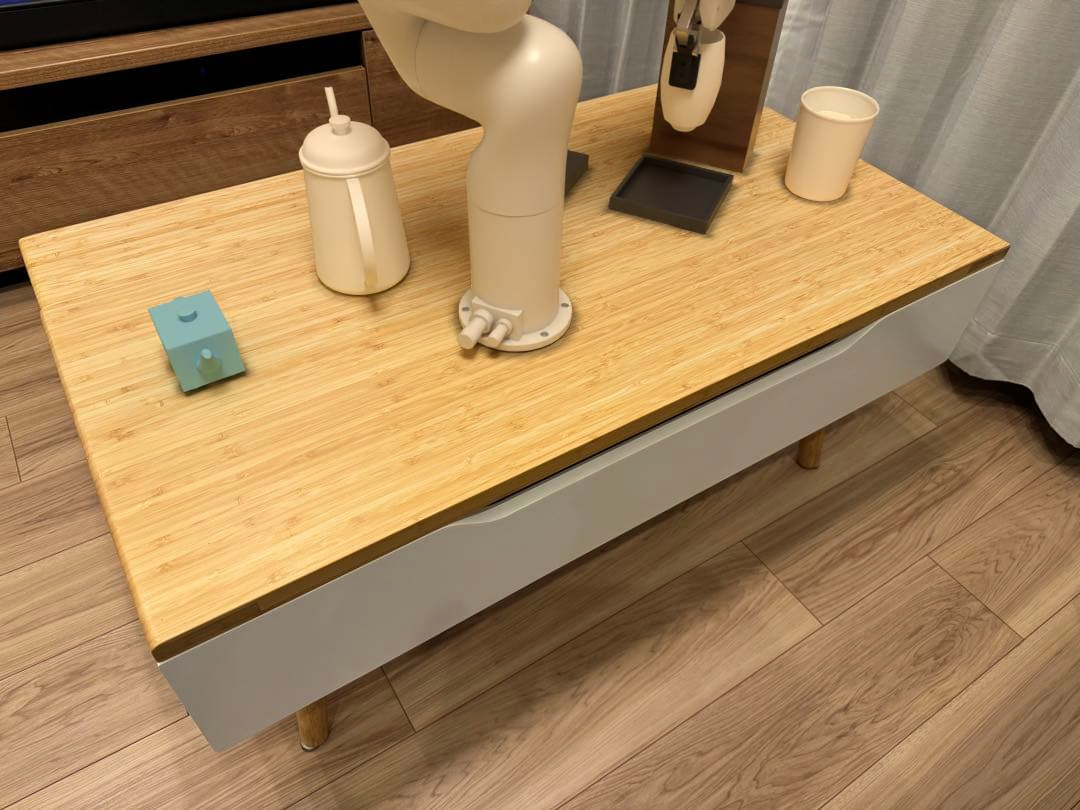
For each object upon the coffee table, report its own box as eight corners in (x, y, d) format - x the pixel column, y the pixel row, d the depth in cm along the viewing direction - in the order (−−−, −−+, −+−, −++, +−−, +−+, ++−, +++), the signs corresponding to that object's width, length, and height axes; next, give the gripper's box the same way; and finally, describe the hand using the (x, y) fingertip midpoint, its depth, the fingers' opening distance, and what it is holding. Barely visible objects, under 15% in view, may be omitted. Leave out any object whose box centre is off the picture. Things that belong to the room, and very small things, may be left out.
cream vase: (654, 210, 102) (678, 48, 87) (638, 182, 107) (658, 24, 92) (706, 205, 103) (739, 44, 88) (688, 178, 108) (716, 21, 93)
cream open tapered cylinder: (807, 211, 104) (834, 125, 95) (764, 176, 110) (785, 92, 101) (865, 196, 107) (896, 112, 98) (820, 163, 113) (845, 81, 104)
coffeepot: (391, 207, 102) (372, 61, 88) (430, 325, 85) (415, 168, 72) (306, 219, 99) (274, 71, 86) (330, 343, 83) (294, 184, 69)
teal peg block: (258, 397, 77) (239, 339, 72) (196, 420, 75) (171, 362, 69) (222, 329, 84) (202, 272, 79) (164, 348, 82) (139, 291, 76)
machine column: (743, 174, 110) (784, -5, 93) (647, 151, 114) (670, -25, 97) (753, 154, 114) (795, -21, 98) (660, 133, 118) (685, -39, 101)
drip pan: (705, 234, 99) (707, 222, 98) (608, 209, 103) (609, 197, 102) (731, 186, 108) (734, 174, 106) (641, 164, 111) (642, 153, 110)
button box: (553, 209, 102) (555, 182, 100) (486, 191, 105) (485, 164, 102) (588, 169, 110) (590, 142, 107) (524, 153, 113) (524, 127, 110)
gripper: (733, -71, 74) (701, 110, 87) (773, -111, 85) (740, 55, 98) (658, -82, 76) (637, 96, 89) (707, -119, 87) (682, 44, 100)
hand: (691, 73), depth 93 cm, fingers closed on cream vase, 7 cm apart
